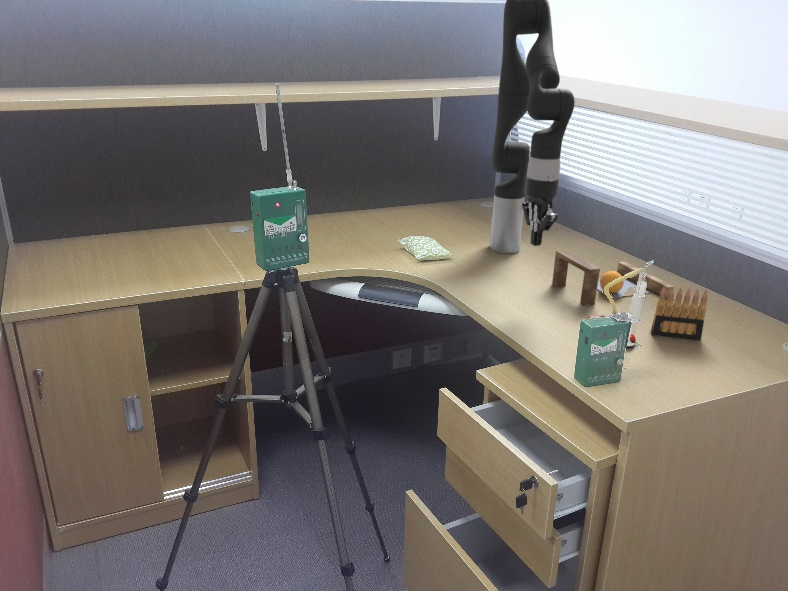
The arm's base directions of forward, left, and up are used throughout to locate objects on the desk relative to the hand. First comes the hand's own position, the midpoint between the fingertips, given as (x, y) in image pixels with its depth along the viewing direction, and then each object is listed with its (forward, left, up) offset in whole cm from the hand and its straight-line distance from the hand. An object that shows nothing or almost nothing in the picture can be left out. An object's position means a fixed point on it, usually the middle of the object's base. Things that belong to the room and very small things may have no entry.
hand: (535, 244), depth 164 cm
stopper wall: (0, +36, -15) cm, 39 cm away
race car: (+24, +7, -16) cm, 29 cm away
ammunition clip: (+29, +21, -15) cm, 39 cm away
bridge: (0, +13, -15) cm, 20 cm away
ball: (+2, +23, -12) cm, 26 cm away
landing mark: (0, +27, -15) cm, 31 cm away
